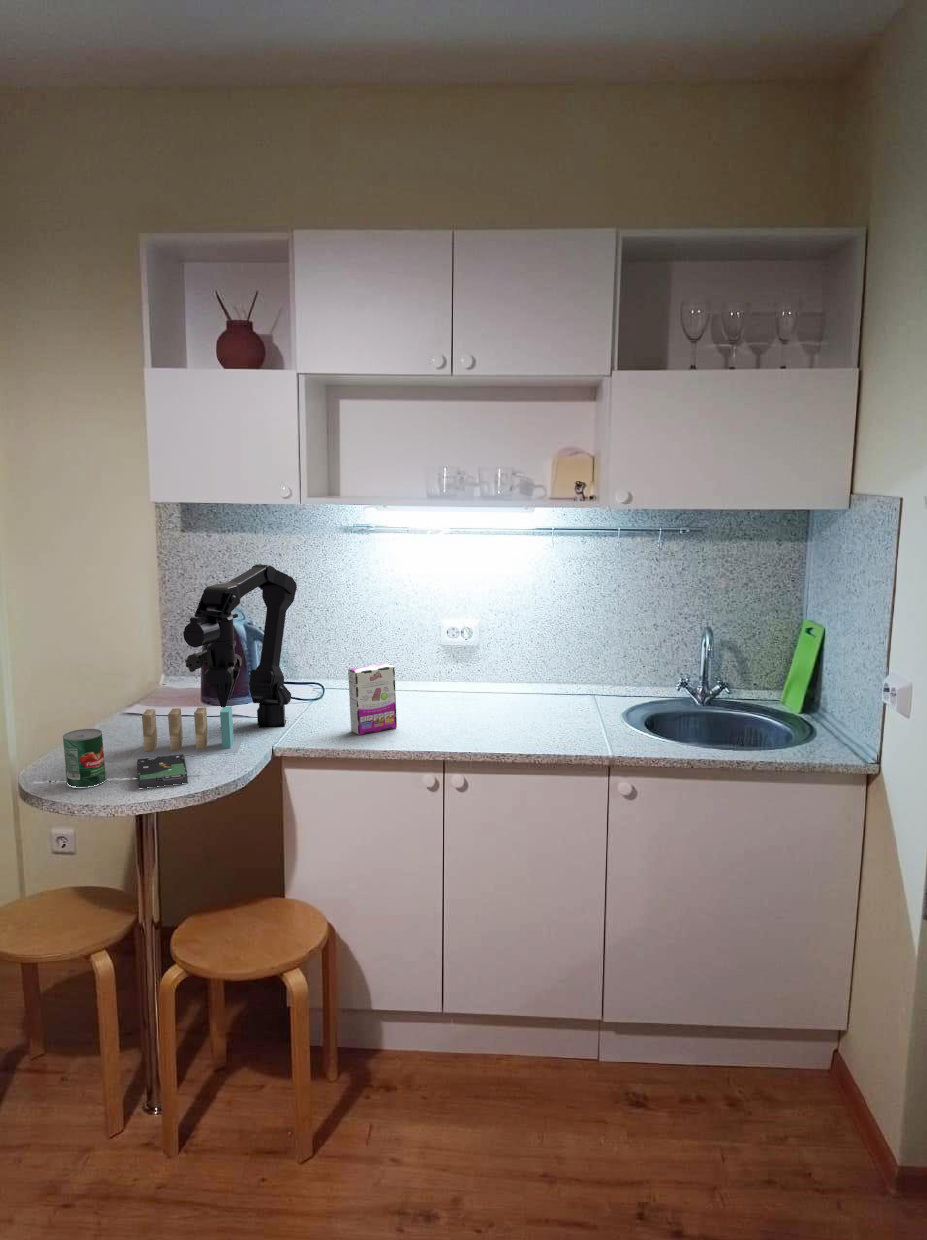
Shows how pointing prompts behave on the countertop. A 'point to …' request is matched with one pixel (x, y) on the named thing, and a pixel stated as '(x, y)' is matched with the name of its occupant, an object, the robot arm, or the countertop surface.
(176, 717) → the maple tile
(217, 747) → the slate mat
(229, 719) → the teal tile
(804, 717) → the countertop surface
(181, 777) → the disk drive
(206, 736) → the maple tile
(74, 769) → the canned tomato
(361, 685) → the candy bar box
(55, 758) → the countertop surface
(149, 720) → the maple tile
